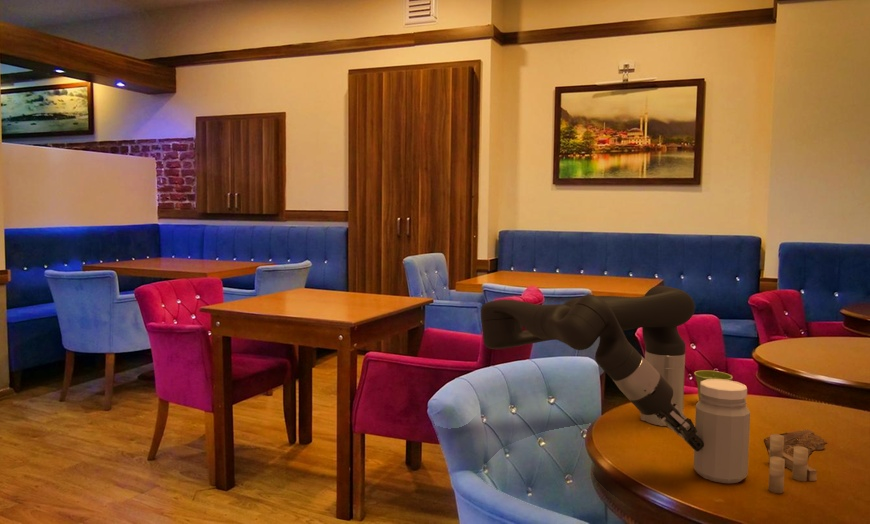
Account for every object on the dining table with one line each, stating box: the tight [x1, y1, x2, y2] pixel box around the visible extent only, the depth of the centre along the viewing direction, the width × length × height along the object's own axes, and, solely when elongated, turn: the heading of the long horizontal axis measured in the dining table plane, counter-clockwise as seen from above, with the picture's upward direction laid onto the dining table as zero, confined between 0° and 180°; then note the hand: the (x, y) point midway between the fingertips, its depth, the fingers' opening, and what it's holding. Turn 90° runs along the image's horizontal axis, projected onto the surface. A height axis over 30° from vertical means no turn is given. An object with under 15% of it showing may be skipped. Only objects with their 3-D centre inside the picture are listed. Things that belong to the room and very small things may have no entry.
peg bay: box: [768, 433, 818, 494], centre depth 126 cm, size 12×18×6 cm, turn 7°
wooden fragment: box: [763, 429, 828, 458], centre depth 142 cm, size 26×11×1 cm, turn 132°
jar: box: [693, 379, 751, 484], centre depth 124 cm, size 10×10×18 cm
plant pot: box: [693, 369, 733, 401], centre depth 169 cm, size 9×9×9 cm
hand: (699, 447), depth 122 cm, fingers closed
